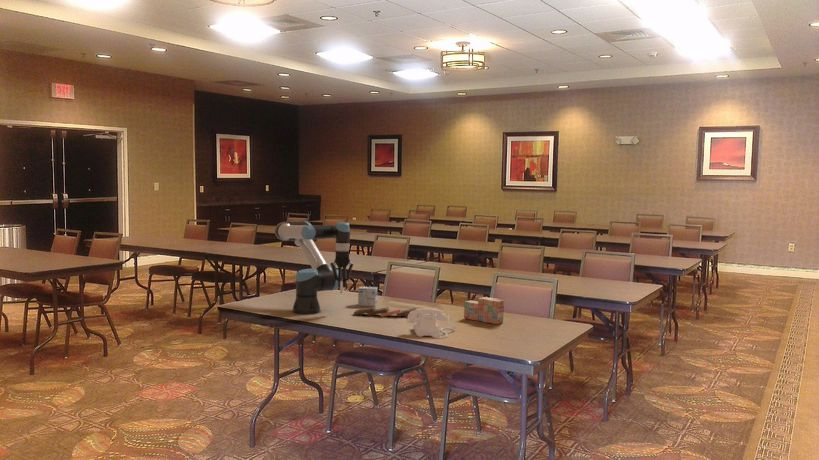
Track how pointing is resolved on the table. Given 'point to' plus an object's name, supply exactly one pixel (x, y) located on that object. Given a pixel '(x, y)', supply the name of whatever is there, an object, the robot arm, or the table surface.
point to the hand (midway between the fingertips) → (341, 293)
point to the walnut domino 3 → (405, 312)
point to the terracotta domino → (392, 312)
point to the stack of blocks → (485, 310)
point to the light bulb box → (367, 296)
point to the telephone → (428, 322)
